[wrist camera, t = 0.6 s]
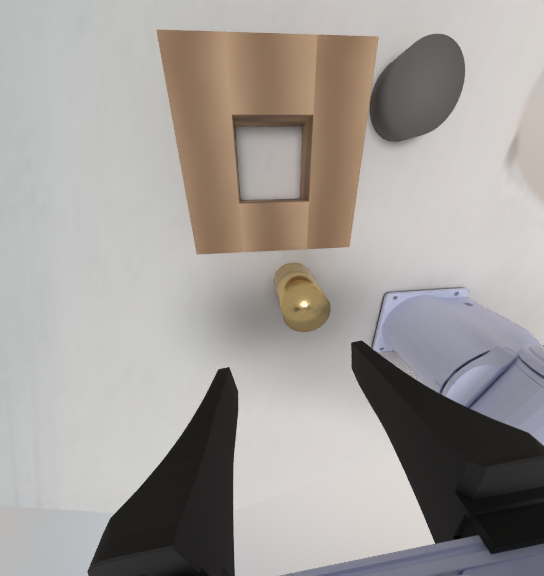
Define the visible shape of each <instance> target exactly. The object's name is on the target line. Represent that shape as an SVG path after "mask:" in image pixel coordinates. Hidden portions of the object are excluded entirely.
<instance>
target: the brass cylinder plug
mask: <svg viewBox="0 0 544 576" xmlns="http://www.w3.org/2000/svg"><path fill="white" fill-rule="evenodd" d="M274 282H275V287H276V291H277V295H278V299H279V302H280V306H281V310H282V314H283V318H284V321H285V323H286V324H287V325H288V326H289V327H290V328H291V329H293V330H295V331H299V332H308V331H312V330H315V329H317V328H319V327H320V326H322V325H323V324H324V323H325V322H326V320H327V319H328V317H329V314H330V303H329V301H328V299H327V298H326V296H325V295H324V293H323V292H322V290H321V289H320V287H319V286H318V285H317V283H316V282H315V280H314V279H313V277H312V276H311V274H310V273H309V271H308V270H307V268H306V267H304V266H303V265H301V264H298V263H289V264H286V265H284V266H282V267H281V268H280V269H279V270H278V271H277V273H276V275H275V279H274Z"/></svg>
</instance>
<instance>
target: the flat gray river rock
mask: <svg viewBox="0 0 544 576" xmlns="http://www.w3.org/2000/svg"><path fill="white" fill-rule="evenodd" d="M464 77H465V63H464V57H463V54H462V51H461V49H460V47H459V45H458V44H457V43H456V42H455V41H454V40H453V39H452V38H451V37H449V36H447V35H444V34H432V35H428V36H425V37H423V38H421V39H420V40H418V41H417V42H415V43H414V44H413V45H412V46H410V47H409V48H408V49H407V50H406V51H405V52H403V53H402V54H401V55H400V56H399V57H397V58H396V59H395V60H394V61H393V62H392V63H390V64H389V65H388V66H387V67H386V68H385V69H384V71H383V72H382V73H381V75H380V76H379V78H378V80H377V82H376V84H375V86H374V89H373V92H372V95H371V101H370V116H371V121H372V124H373V127H374V129H375V130H376V132H377V133H378V134H379V135H380V136H381V137H382V138H384V139H386V140H388V141H402V140H405V139H409V138H412V137H416V136H420V135H423V134H426V133H429V132H431V131H432V130H434V129H436V128H437V127H438V126H440V125H441V124H442V123H443V122H444V121H445V120H446V119H447V118H448V116H449V115H450V114H451V112H452V111H453V109H454V107H455V106H456V104H457V102H458V99H459V97H460V94H461V91H462V88H463V84H464Z"/></svg>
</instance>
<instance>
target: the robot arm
mask: <svg viewBox="0 0 544 576" xmlns="http://www.w3.org/2000/svg"><path fill="white" fill-rule="evenodd" d="M468 294H469V290H468V289H467V288H452V289H436V290H421V291H406V292H391V293H387V294H386V295H385V297H384V301H383V305H382V309H381V314H380V318H379V322H378V326H377V330H376V335H375V339H374V343H373V347H372V348H371V347H369V346H368V345H367V344H366V343H364V342H363V341H357V342H352V343H351V350H352V370H353V372H354V374H355V377H356V379H357V381H358V383H359V386H360V387H361V389H362V391H363V393H364V394H365V396H366V398H367V399H368V401H369V403H370V405H371V406H372V408H373V410H374V411H375V413H376V415H377V416H378V418H379V420H380V422H381V423H382V425H383V427H384V429H385V431H386V433H387V435H388V437H389V439H390V441H391V443H392V445H393V447H394V449H395V451H396V454H397V456H398V458H399V460H400V462H401V464H402V467H403V469H404V471H405V473H406V475H407V478H408V480H409V482H410V485H411V487H412V489H413V491H414V494H415V496H416V498H417V500H418V503H419V505H420V508H421V510H422V513H423V515H424V517H425V520H426V522H427V524H428V527H429V529H430V532H431V534H432V536H433V539H434V542H435V544H433V545H427V546H422V547H418V548H413V549H408V550H403V551H398V552H394V553H388V554H383V555H378V556H373V557H369V558H364V559H359V560H354V561H349V562H344V563H340V564H335V565H329V566H325V567H320V568H315V569H310V570H306V571H301V572H296V573H290V574H285V575H281V576H544V345H541V344H540V343H539V342H538V340H537V339H536V338H535V337H534V336H533V335H532V334H531V333H530V332H529V331H528V330H526V329H525V328H523V327H521V326H520V325H518V324H516V323H514V322H512V321H510V320H508V319H506V318H505V317H503V316H501V315H499V314H497V313H495V312H493V311H491V310H489V309H487V308H486V307H484V306H482V305H480V304H478V303H476V302H474V301H472V300H470V299H468V298H467V296H468ZM394 296H395V297H394ZM393 297H394V298H393ZM381 347H382V348H381ZM385 351H395V352H396V353H397V354H398V356H399V357H400V358H401V359H402V360H403V361H404V362H405V364H406V365H407V366H408V367H409V368H410V369H411V371H412V372H413V373H414V374H415V375H416V376H417V377H418V379H419V380H420V381H421V382H422V383H423V384H422V383H420V382H419V381H417V380H415V379H414V378H412V377H411V376H409V375H408V374H406V373H405V372H403V371H402V370H400V369H399V368H397V367H396V366H395V365H393V364H392V363H390V362H389V361H388V360H386V359H385V358H384V357H382V356H381V355H380V354H378V353H377V352H385ZM237 417H238V390H237V387H236V384H235V382H234V379H233V376H232V373H231V371H230V368H229V367H228V368H223V369H219V370H218V371H217V373H216V375H215V377H214V380H213V382H212V384H211V386H210V388H209V390H208V391H207V393H206V395H205V397H204V399H203V401H202V403H201V404H200V406H199V408H198V410H197V411H196V413H195V415H194V416H193V418H192V420H191V421H190V423H189V424H188V426H187V427H186V429H185V430H184V432H183V433H182V435H181V436H180V438H179V439H178V441H177V442H176V443H175V445H174V446H173V447H172V449H171V450H170V451H169V453H168V454H167V455H166V457H165V458H164V459H163V461H162V462H161V463H160V464H159V465H158V467H157V468H156V469H155V470H154V471H153V473H152V474H151V475H150V476H149V477H148V478H147V480H146V481H145V482H144V483H143V484H142V485H141V487H140V488H139V489H138V490H137V491H136V492H135V493H134V494H133V495H132V496H131V497H130V498H129V499H128V501H127V502H126V503H125V504H124V505H123V506H122V507H121V508H120V509H119V510H118V511H117V512H116V513H115V514H114V515H113V516H112V517H111V518H110V520H109V522H108V525H107V527H106V529H105V531H104V533H103V535H102V538H101V540H100V543H99V545H98V548H97V550H96V552H95V555H94V557H93V560H92V562H91V565H90V567H89V569H88V575H89V576H235V573H234V572H235V570H234V540H233V539H234V538H233V462H234V448H235V438H236V428H237Z"/></svg>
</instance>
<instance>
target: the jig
mask: <svg viewBox="0 0 544 576" xmlns="http://www.w3.org/2000/svg"><path fill="white" fill-rule="evenodd" d="M157 35H158V41H159V46H160V52H161V58H162V63H163V69H164V74H165V80H166V85H167V91H168V97H169V102H170V108H171V113H172V119H173V124H174V130H175V135H176V141H177V147H178V152H179V158H180V163H181V169H182V174H183V180H184V186H185V191H186V197H187V202H188V208H189V213H190V219H191V225H192V230H193V236H194V241H195V247H196V252H197V254H212V253H233V252H254V251H275V250H296V249H317V248H338V247H349V246H350V239H351V231H352V224H353V217H354V210H355V203H356V196H357V188H358V181H359V174H360V167H361V160H362V153H363V145H364V138H365V131H366V124H367V117H368V110H369V102H370V95H371V88H372V81H373V74H374V67H375V59H376V52H377V45H378V38H379V37H373V36H341V35H309V34H277V33H245V32H213V31H181V30H157ZM235 126H303V128H302V158H301V187H300V199H274V200H240V187H239V175H238V162H237V149H236V136H235Z"/></svg>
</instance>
